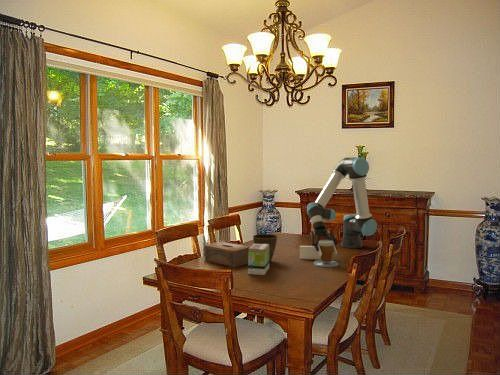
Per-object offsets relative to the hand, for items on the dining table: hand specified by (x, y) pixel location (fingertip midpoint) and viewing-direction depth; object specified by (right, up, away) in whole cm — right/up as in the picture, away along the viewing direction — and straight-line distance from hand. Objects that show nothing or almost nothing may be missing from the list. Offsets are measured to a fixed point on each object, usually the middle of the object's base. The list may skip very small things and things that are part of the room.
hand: (328, 254), depth 255 cm
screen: (-5, -5, +17) cm, 18 cm away
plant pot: (-37, -6, +12) cm, 40 cm away
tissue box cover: (-61, -6, +13) cm, 63 cm away
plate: (-1, -6, +4) cm, 7 cm away
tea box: (-42, -8, -11) cm, 44 cm away
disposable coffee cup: (-1, -4, +4) cm, 6 cm away
